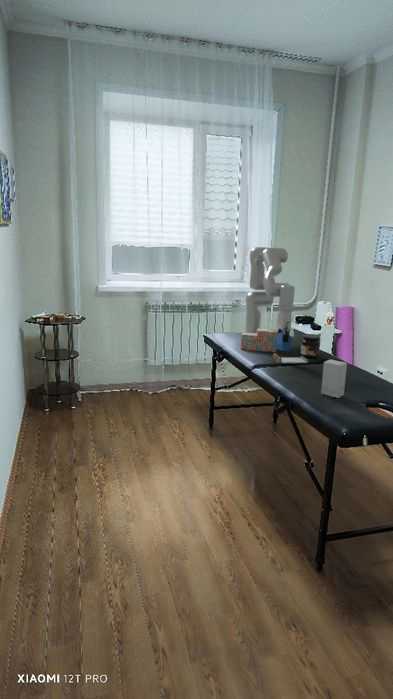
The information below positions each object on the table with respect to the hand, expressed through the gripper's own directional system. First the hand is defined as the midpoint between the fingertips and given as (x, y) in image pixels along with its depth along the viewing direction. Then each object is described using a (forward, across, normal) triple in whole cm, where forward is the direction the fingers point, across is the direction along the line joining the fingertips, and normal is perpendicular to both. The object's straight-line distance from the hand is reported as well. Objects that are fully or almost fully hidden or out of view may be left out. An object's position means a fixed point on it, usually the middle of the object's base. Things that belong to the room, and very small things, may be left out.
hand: (282, 340), depth 250 cm
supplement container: (+12, -9, +21) cm, 26 cm away
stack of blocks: (+12, -24, -5) cm, 28 cm away
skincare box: (+13, +54, +4) cm, 55 cm away
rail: (+12, 0, -2) cm, 12 cm away
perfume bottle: (+5, 0, 0) cm, 5 cm away
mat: (+12, 0, +7) cm, 14 cm away
